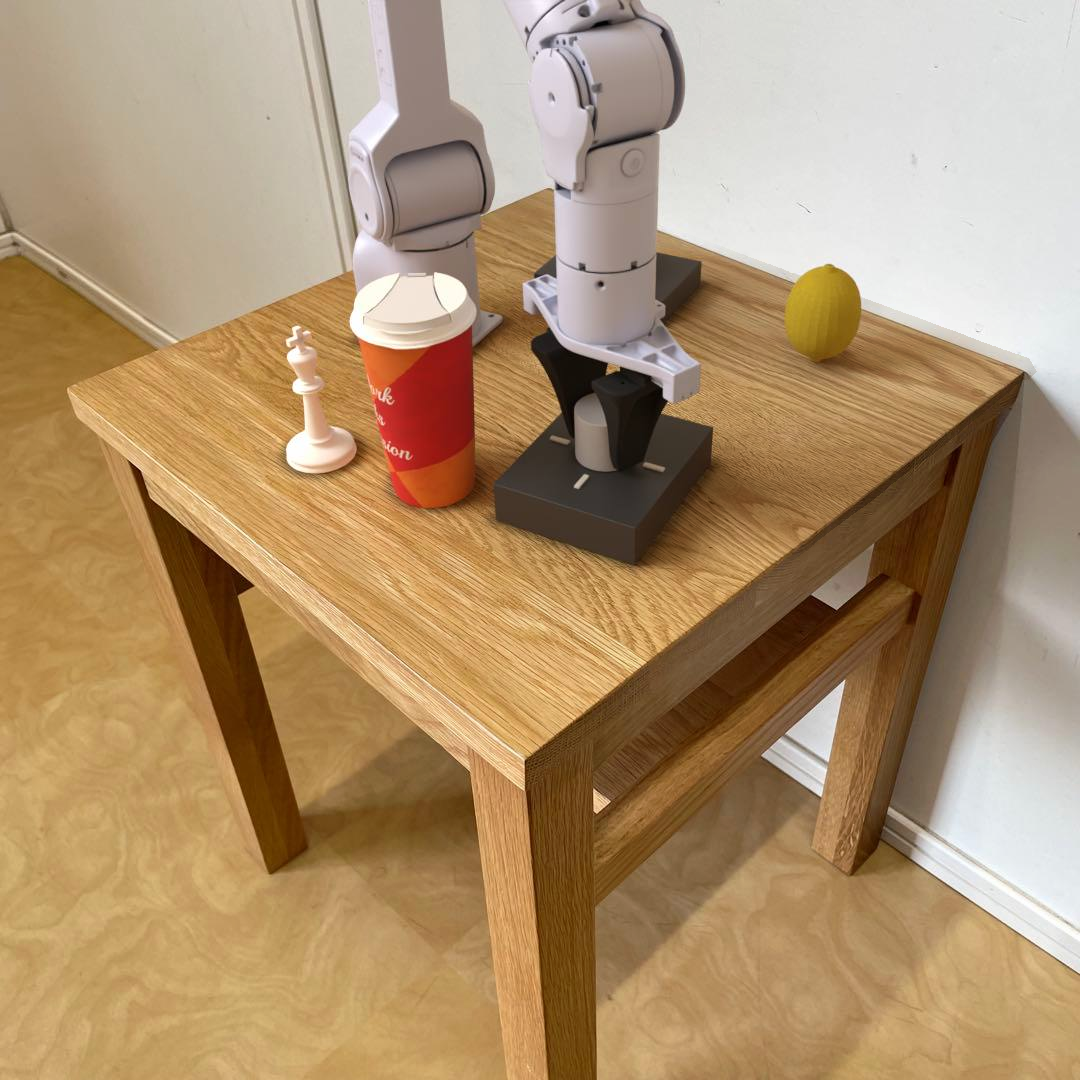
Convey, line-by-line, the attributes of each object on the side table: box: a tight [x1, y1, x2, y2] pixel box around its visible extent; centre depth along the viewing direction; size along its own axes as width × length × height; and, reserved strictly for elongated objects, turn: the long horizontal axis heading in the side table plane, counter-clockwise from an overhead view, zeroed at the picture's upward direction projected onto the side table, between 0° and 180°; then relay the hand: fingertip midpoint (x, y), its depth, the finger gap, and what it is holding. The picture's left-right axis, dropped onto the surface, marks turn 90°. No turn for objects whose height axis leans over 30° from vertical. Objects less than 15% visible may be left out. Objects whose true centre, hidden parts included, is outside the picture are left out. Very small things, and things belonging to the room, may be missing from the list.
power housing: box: [533, 251, 703, 325], centre depth 95 cm, size 12×8×4 cm, turn 61°
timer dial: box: [574, 393, 617, 472], centre depth 71 cm, size 4×4×4 cm
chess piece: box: [285, 325, 358, 474], centre depth 76 cm, size 5×5×10 cm
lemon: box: [784, 263, 862, 363], centre depth 83 cm, size 6×6×8 cm
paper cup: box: [349, 272, 477, 509], centre depth 71 cm, size 8×8×14 cm
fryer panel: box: [492, 412, 714, 566], centre depth 73 cm, size 10×12×3 cm
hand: (606, 448), depth 72 cm, fingers closed on timer dial, 4 cm apart
